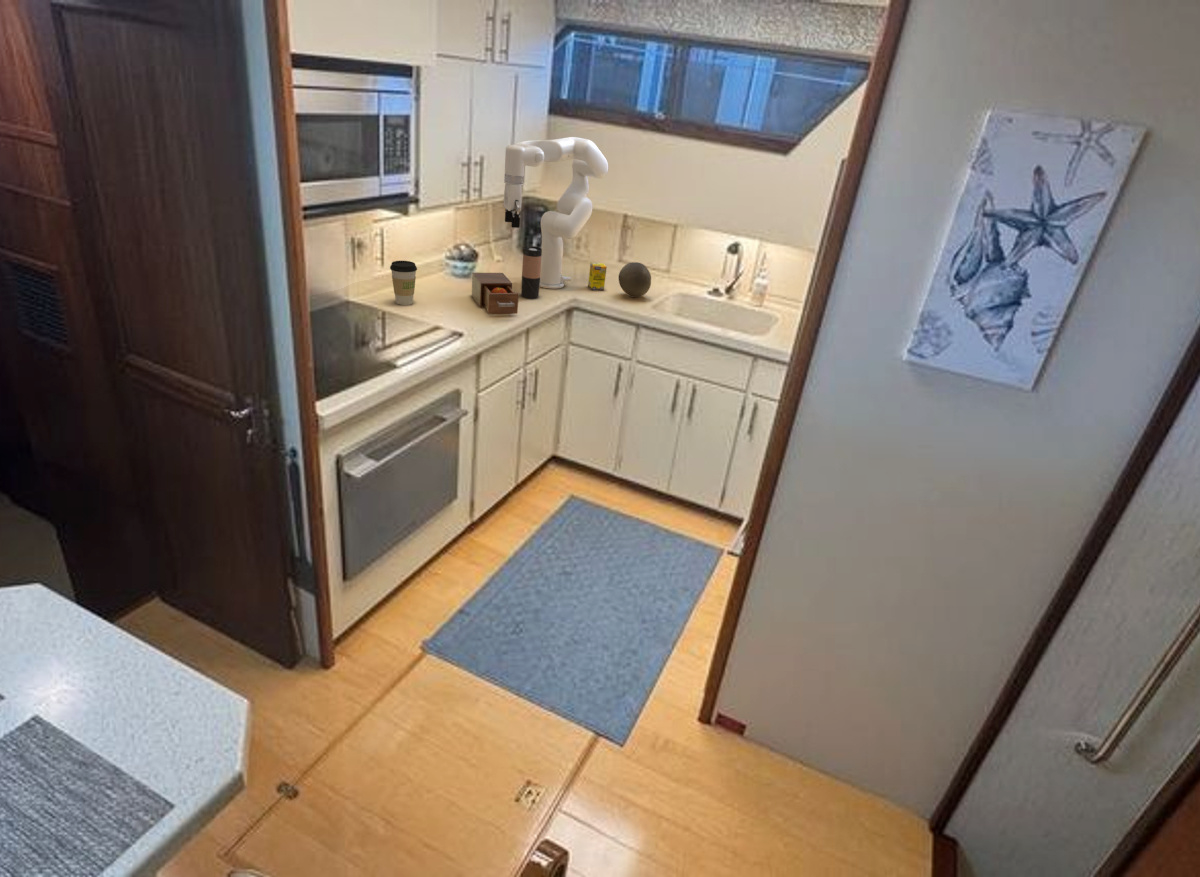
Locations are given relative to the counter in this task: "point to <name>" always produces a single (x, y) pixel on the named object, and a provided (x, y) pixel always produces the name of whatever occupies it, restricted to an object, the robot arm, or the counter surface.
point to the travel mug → (531, 272)
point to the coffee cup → (403, 281)
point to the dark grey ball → (635, 279)
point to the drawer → (500, 300)
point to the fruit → (498, 290)
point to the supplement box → (597, 276)
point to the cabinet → (486, 279)
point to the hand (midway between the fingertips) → (512, 224)
